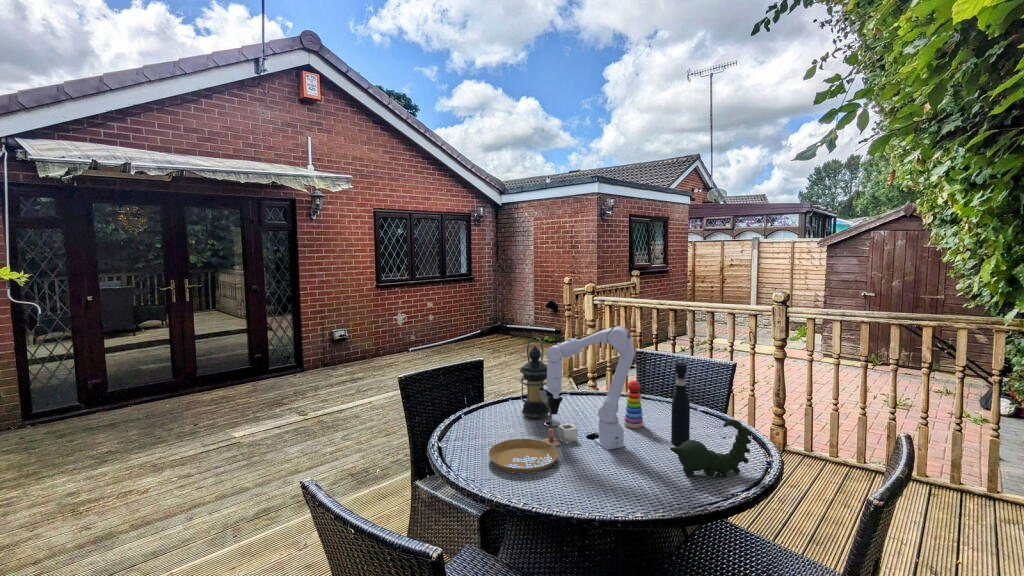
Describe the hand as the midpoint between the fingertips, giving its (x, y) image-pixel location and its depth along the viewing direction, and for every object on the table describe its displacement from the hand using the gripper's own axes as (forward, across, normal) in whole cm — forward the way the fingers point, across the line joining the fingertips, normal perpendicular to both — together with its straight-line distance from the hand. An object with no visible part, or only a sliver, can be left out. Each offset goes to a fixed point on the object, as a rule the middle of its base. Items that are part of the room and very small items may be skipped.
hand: (552, 410), depth 184 cm
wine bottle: (+8, +11, +47) cm, 49 cm away
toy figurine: (+8, +35, +46) cm, 59 cm away
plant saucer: (+11, +21, -12) cm, 27 cm away
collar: (+10, +4, +6) cm, 12 cm away
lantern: (+11, -23, -4) cm, 26 cm away
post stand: (+10, +7, -1) cm, 13 cm away
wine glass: (+10, -13, +2) cm, 16 cm away
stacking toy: (+9, -8, +35) cm, 37 cm away
